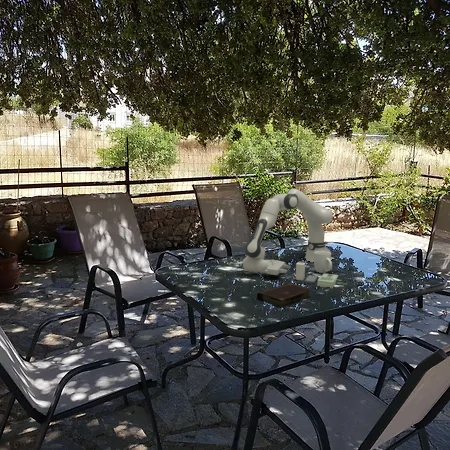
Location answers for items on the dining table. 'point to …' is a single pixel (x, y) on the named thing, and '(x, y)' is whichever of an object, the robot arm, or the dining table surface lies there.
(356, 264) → the dining table surface
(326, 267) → the mug
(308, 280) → the phone
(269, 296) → the diary
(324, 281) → the green desk organizer
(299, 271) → the charger
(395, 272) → the dining table surface
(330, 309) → the dining table surface
